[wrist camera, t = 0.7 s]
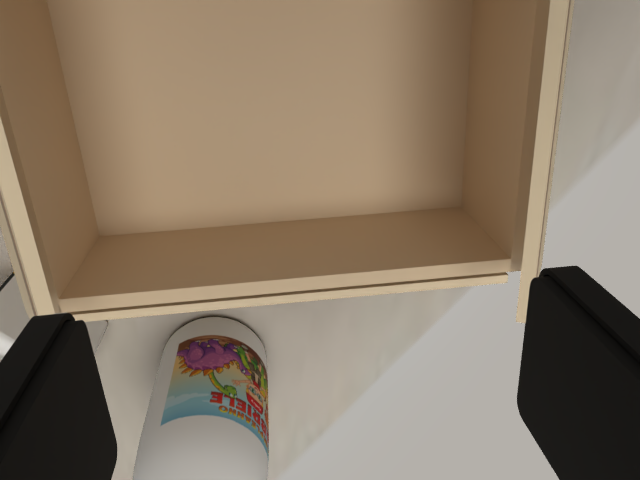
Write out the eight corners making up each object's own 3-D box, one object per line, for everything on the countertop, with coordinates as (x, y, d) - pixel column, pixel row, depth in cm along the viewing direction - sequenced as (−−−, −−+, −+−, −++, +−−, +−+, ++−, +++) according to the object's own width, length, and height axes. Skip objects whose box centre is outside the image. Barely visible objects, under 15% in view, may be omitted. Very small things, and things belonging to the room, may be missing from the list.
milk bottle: (225, 414, 45) (203, 704, 26) (142, 366, 42) (53, 650, 24) (287, 348, 43) (309, 612, 25) (204, 294, 40) (159, 543, 22)
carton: (488, -94, 32) (567, -124, 24) (468, 223, 40) (522, 283, 32) (18, -74, 30) (-71, -99, 22) (94, 255, 38) (50, 327, 30)
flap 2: (585, -86, 24) (581, -104, 19) (542, 263, 31) (530, 324, 25) (569, -84, 24) (561, -102, 19) (529, 261, 31) (515, 321, 26)
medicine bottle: (20, 263, 38) (-76, 373, 27) (111, 321, 40) (56, 443, 29) (-36, 333, 40) (-149, 463, 29) (54, 385, 42) (-18, 522, 31)
